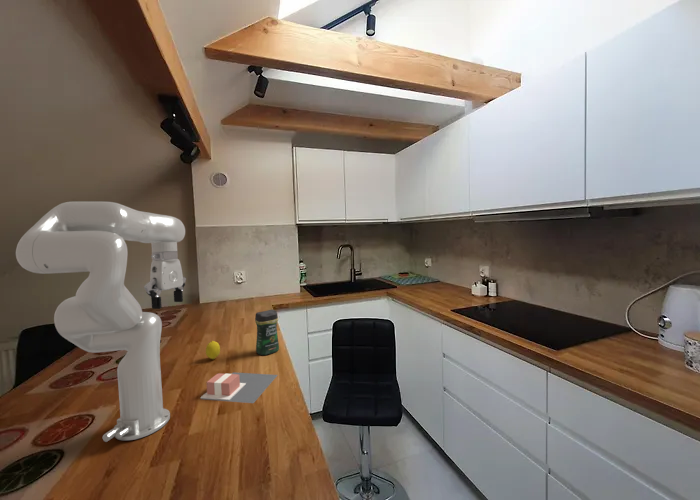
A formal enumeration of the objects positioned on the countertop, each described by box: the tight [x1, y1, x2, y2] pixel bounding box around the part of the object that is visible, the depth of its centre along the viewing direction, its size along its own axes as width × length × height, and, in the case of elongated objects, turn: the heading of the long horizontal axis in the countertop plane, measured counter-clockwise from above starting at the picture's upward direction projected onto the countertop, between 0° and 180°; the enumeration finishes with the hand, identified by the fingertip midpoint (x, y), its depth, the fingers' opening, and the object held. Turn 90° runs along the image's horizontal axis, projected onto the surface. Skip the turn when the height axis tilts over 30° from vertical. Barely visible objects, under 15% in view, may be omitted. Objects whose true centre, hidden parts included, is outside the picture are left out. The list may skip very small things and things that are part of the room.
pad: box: [200, 383, 246, 401], centre depth 96 cm, size 10×10×1 cm
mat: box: [201, 371, 278, 404], centre depth 99 cm, size 18×18×1 cm
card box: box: [206, 373, 240, 396], centre depth 96 cm, size 8×6×4 cm
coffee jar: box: [254, 309, 280, 356], centre depth 129 cm, size 10×8×19 cm
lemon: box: [205, 340, 221, 360], centre depth 123 cm, size 6×6×8 cm
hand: (168, 304), depth 102 cm, fingers open, 9 cm apart
